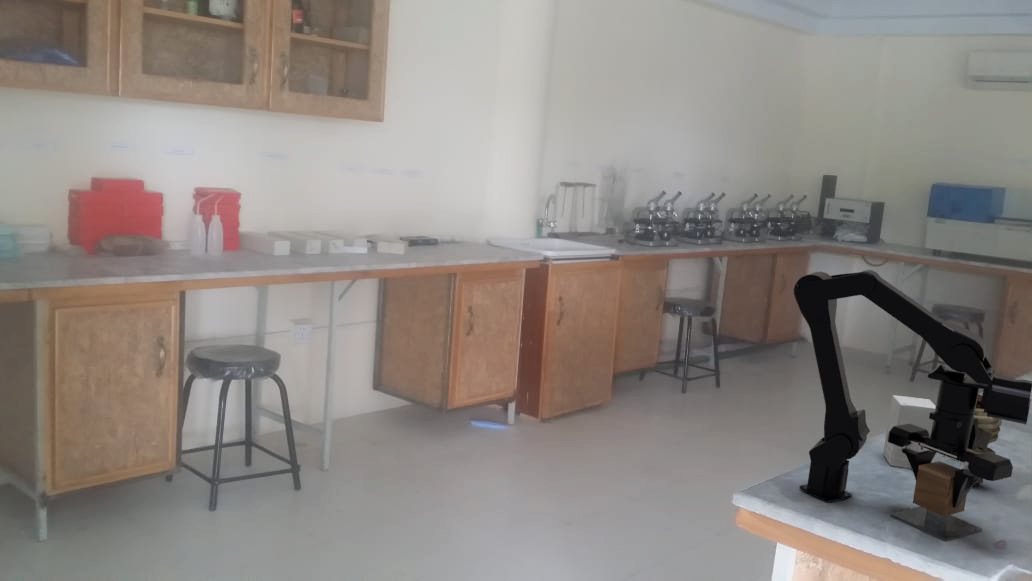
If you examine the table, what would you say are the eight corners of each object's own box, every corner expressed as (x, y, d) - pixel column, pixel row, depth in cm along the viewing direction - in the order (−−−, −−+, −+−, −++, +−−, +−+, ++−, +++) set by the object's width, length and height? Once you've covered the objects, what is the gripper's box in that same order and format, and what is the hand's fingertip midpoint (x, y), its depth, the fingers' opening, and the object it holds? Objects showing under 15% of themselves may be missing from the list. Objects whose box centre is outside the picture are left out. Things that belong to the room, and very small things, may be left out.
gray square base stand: (945, 541, 141) (952, 499, 140) (890, 515, 149) (896, 476, 148) (981, 530, 146) (989, 490, 145) (926, 506, 155) (933, 468, 153)
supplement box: (929, 471, 173) (940, 409, 170) (889, 466, 174) (899, 404, 172) (920, 459, 180) (930, 398, 178) (881, 453, 181) (891, 393, 179)
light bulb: (988, 493, 163) (1002, 415, 161) (955, 485, 166) (969, 408, 164) (990, 485, 168) (1004, 408, 166) (958, 477, 171) (972, 402, 168)
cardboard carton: (943, 516, 144) (950, 477, 142) (912, 502, 148) (919, 465, 147) (963, 511, 147) (970, 473, 145) (932, 497, 151) (939, 461, 150)
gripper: (1040, 422, 141) (1021, 515, 144) (932, 389, 156) (918, 473, 159) (1000, 430, 135) (982, 526, 138) (892, 394, 151) (878, 481, 153)
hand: (938, 500), depth 147 cm, fingers closed on cardboard carton, 6 cm apart
